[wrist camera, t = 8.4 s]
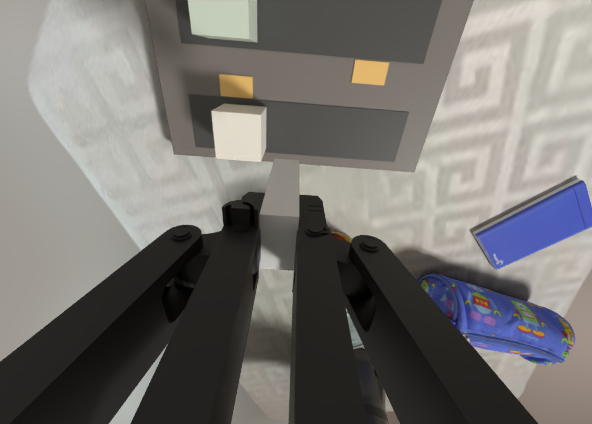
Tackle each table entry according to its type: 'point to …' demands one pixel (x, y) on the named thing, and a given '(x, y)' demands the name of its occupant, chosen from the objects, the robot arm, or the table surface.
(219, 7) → the sage tab
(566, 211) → the hard drive
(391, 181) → the table surface
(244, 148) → the cream tab
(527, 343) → the pencil case
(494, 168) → the table surface
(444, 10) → the switch panel
